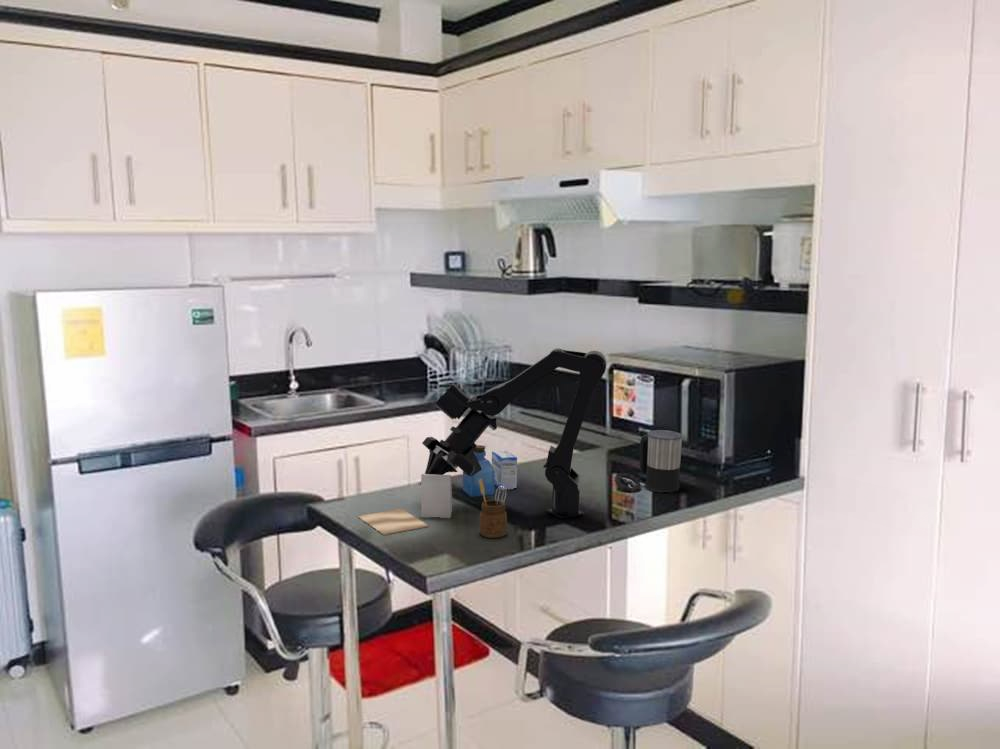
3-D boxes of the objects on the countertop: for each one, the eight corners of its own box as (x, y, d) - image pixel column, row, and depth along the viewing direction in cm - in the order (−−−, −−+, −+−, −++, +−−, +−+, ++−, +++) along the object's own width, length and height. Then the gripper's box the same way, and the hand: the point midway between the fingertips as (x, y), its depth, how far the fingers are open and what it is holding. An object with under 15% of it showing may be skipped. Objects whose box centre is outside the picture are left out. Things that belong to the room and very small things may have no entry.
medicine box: (490, 482, 219) (491, 450, 218) (506, 481, 221) (506, 449, 220) (501, 490, 212) (501, 457, 211) (517, 489, 214) (517, 456, 212)
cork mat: (428, 527, 183) (428, 525, 183) (383, 535, 177) (383, 534, 177) (401, 509, 194) (401, 508, 194) (358, 517, 189) (358, 516, 189)
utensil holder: (501, 540, 175) (501, 485, 174) (474, 536, 178) (474, 482, 176) (510, 531, 181) (511, 478, 179) (484, 527, 183) (484, 475, 181)
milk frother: (687, 489, 216) (690, 434, 214) (652, 500, 205) (654, 443, 203) (643, 477, 226) (645, 425, 224) (607, 488, 216) (609, 433, 213)
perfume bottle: (471, 496, 206) (472, 450, 204) (462, 490, 212) (463, 445, 210) (494, 494, 208) (495, 448, 207) (484, 487, 214) (485, 443, 212)
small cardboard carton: (450, 518, 189) (449, 479, 186) (421, 517, 190) (420, 478, 186) (452, 510, 193) (451, 472, 190) (423, 509, 193) (422, 471, 190)
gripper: (507, 462, 189) (463, 515, 186) (472, 444, 205) (431, 493, 202) (476, 432, 184) (431, 486, 181) (443, 416, 200) (401, 465, 197)
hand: (424, 483), depth 190 cm, fingers closed
